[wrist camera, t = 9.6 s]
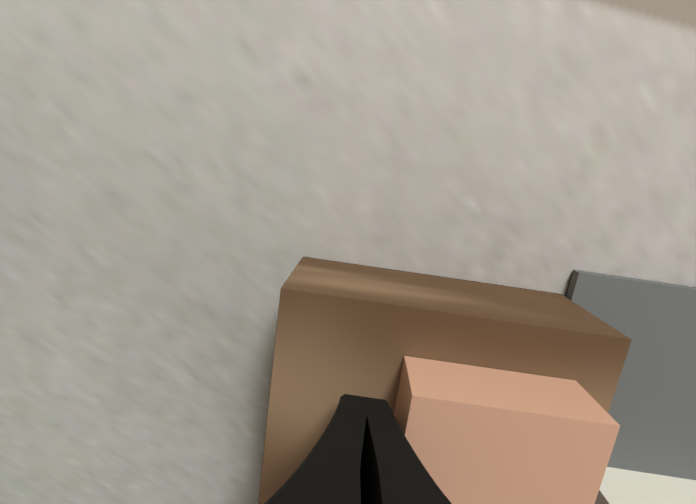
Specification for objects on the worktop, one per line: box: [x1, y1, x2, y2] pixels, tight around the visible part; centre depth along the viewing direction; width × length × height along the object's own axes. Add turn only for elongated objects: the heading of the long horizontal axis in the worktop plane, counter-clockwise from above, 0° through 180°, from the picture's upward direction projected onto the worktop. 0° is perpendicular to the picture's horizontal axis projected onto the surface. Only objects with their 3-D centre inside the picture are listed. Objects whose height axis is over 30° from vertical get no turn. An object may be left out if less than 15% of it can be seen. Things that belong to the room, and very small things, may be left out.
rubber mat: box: [566, 270, 696, 480], centre depth 16 cm, size 15×11×1 cm
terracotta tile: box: [394, 356, 620, 504], centre depth 11 cm, size 4×5×2 cm
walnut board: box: [258, 257, 632, 504], centre depth 14 cm, size 13×10×4 cm
